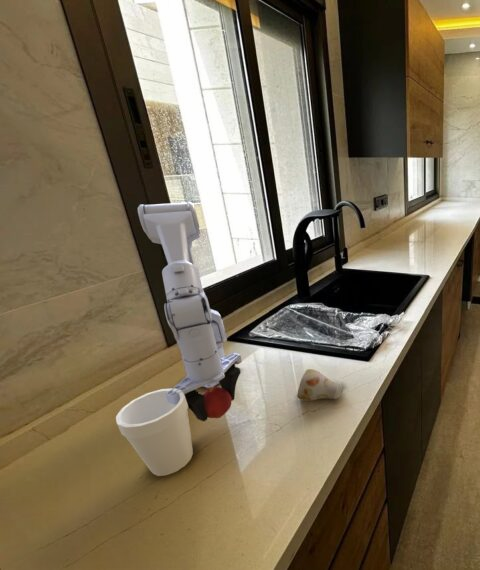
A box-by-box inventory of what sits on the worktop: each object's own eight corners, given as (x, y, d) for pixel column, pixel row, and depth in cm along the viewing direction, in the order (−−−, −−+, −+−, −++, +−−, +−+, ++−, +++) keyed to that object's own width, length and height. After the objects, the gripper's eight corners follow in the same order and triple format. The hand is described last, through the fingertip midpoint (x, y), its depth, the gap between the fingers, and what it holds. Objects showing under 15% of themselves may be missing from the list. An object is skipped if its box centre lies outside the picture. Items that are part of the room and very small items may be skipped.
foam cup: (153, 493, 55) (128, 436, 51) (131, 467, 60) (106, 412, 55) (212, 453, 63) (194, 400, 58) (188, 433, 67) (170, 382, 63)
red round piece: (212, 407, 72) (203, 377, 69) (239, 406, 72) (232, 376, 70) (197, 428, 67) (187, 396, 64) (226, 426, 67) (218, 394, 64)
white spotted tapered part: (342, 407, 75) (315, 381, 70) (310, 416, 78) (282, 392, 73) (351, 381, 81) (326, 355, 76) (320, 390, 84) (295, 366, 79)
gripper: (177, 380, 56) (196, 440, 61) (247, 339, 69) (258, 391, 74) (150, 371, 58) (171, 429, 63) (222, 333, 71) (235, 384, 76)
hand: (216, 408), depth 69 cm, fingers closed on red round piece, 6 cm apart
